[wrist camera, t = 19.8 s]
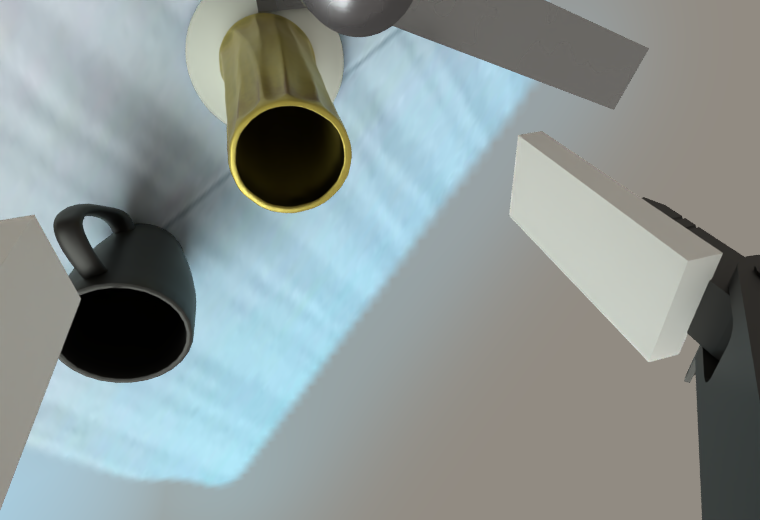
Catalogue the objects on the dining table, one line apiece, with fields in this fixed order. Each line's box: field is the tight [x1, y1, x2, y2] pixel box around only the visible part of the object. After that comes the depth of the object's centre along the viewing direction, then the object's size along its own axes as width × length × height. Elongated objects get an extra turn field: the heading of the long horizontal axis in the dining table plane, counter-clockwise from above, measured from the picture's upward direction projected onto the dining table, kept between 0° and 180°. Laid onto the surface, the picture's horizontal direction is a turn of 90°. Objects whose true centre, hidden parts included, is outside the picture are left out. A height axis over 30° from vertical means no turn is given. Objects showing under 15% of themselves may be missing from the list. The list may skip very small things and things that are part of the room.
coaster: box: [185, 0, 344, 125], centre depth 32 cm, size 10×10×1 cm
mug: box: [53, 204, 196, 383], centre depth 33 cm, size 8×12×10 cm
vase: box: [219, 13, 352, 213], centre depth 26 cm, size 6×6×14 cm
